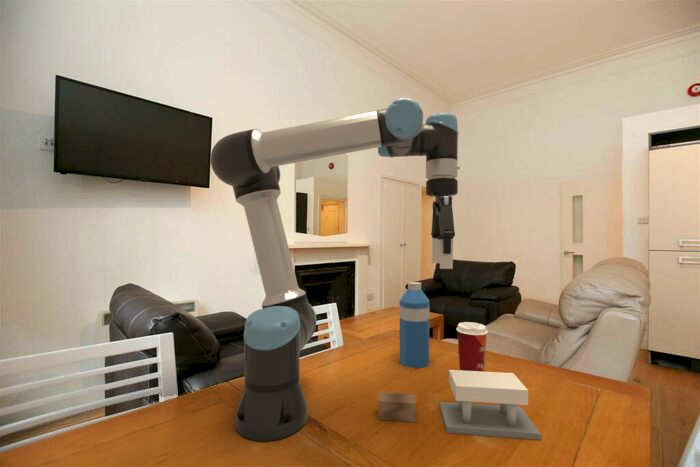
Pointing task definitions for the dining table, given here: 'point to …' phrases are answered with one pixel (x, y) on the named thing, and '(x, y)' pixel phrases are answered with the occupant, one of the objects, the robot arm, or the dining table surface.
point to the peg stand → (488, 420)
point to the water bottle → (414, 327)
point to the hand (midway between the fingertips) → (441, 265)
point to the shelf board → (487, 387)
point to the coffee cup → (471, 346)
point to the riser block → (397, 407)
